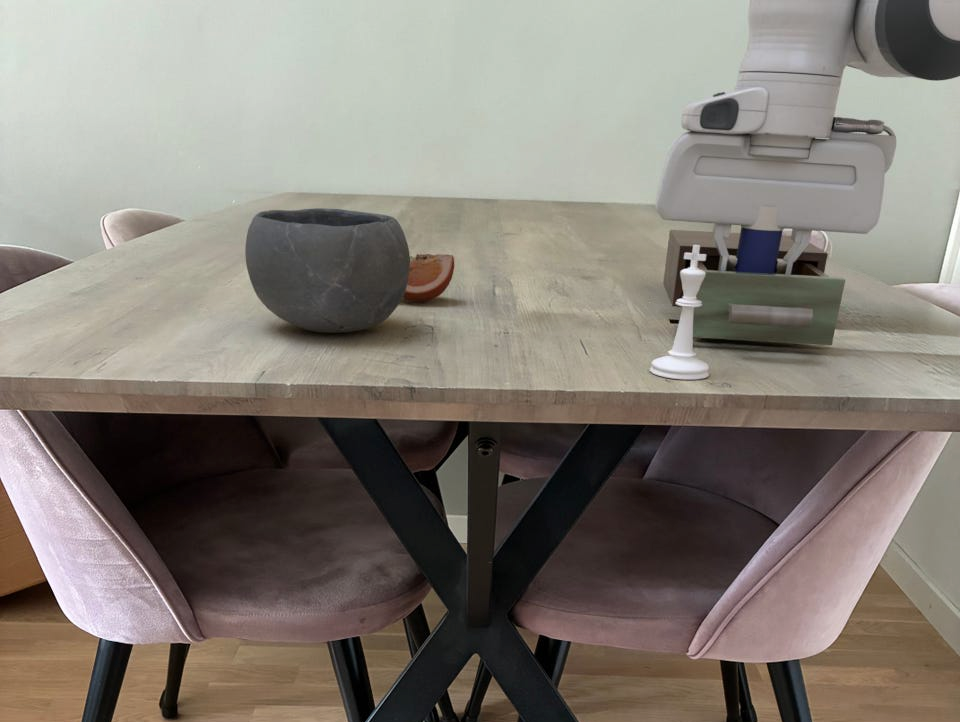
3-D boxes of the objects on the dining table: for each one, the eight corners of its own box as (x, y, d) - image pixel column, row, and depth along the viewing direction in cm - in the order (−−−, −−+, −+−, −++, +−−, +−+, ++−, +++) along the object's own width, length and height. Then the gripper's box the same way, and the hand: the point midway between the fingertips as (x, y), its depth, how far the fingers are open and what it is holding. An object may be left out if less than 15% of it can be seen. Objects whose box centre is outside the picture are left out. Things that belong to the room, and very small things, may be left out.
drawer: (842, 356, 84) (857, 287, 82) (689, 346, 85) (699, 278, 83) (802, 317, 101) (813, 258, 98) (674, 309, 102) (682, 251, 99)
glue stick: (762, 315, 95) (783, 205, 90) (769, 322, 91) (791, 208, 86) (723, 312, 95) (742, 202, 90) (728, 319, 92) (747, 205, 87)
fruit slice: (372, 303, 103) (371, 254, 101) (384, 293, 109) (384, 246, 107) (448, 308, 102) (449, 258, 100) (457, 297, 108) (458, 250, 106)
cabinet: (812, 332, 98) (828, 253, 95) (670, 323, 99) (680, 245, 96) (786, 305, 112) (799, 236, 108) (661, 298, 113) (669, 229, 109)
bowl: (440, 327, 93) (442, 216, 88) (346, 354, 82) (342, 227, 77) (320, 309, 99) (316, 204, 94) (218, 331, 88) (207, 212, 83)
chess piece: (662, 363, 83) (678, 239, 78) (716, 371, 81) (736, 245, 76) (640, 373, 79) (655, 244, 75) (697, 383, 77) (716, 251, 72)
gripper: (892, 121, 87) (854, 281, 93) (666, 107, 88) (645, 265, 95) (912, 121, 81) (871, 291, 88) (671, 106, 83) (648, 274, 89)
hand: (752, 278), depth 91 cm, fingers closed on glue stick, 4 cm apart
